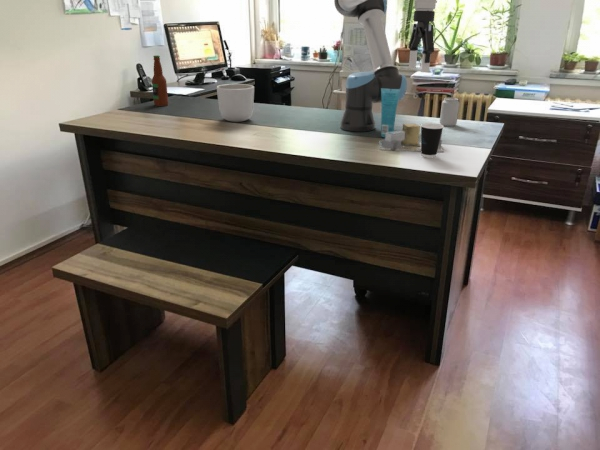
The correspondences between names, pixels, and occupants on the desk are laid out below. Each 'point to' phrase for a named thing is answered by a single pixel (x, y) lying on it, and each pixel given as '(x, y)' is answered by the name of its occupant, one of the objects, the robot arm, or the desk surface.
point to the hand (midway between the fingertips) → (418, 70)
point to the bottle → (159, 84)
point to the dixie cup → (430, 139)
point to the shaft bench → (394, 142)
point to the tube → (388, 109)
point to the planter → (236, 101)
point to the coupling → (411, 134)
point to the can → (449, 112)
